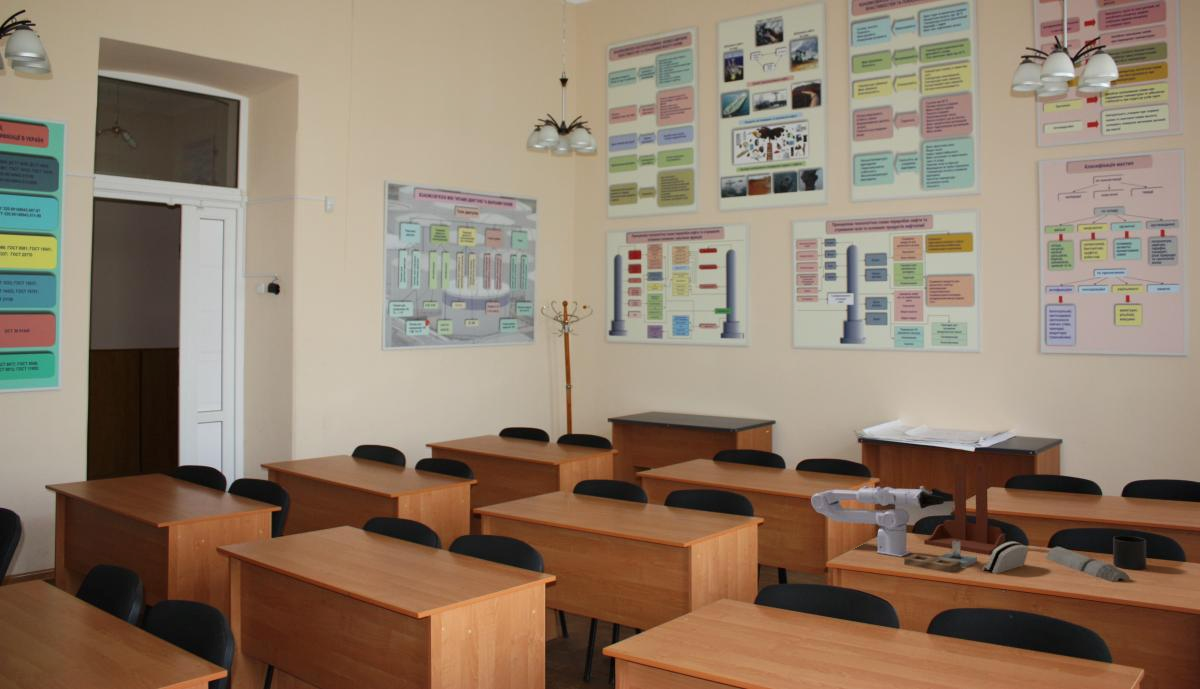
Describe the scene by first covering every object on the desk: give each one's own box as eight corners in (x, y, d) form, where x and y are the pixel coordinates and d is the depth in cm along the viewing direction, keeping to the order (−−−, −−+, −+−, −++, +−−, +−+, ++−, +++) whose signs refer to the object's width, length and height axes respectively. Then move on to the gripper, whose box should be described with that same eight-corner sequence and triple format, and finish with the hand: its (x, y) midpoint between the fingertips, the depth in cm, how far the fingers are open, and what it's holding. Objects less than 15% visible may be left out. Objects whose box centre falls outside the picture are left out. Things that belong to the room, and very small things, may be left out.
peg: (951, 562, 319) (950, 541, 319) (954, 560, 321) (954, 540, 321) (958, 563, 318) (958, 542, 317) (961, 561, 319) (961, 541, 319)
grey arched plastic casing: (1010, 562, 318) (1019, 536, 315) (1022, 569, 314) (1032, 543, 311) (981, 570, 308) (990, 543, 305) (993, 578, 304) (1002, 551, 301)
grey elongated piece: (1068, 545, 323) (1133, 568, 293) (1068, 558, 323) (1133, 581, 293) (1046, 547, 321) (1108, 569, 292) (1046, 560, 321) (1108, 583, 292)
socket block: (935, 562, 319) (935, 558, 319) (948, 556, 326) (948, 552, 326) (965, 567, 312) (964, 562, 312) (977, 561, 320) (977, 556, 319)
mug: (1127, 559, 317) (1127, 533, 317) (1152, 569, 305) (1152, 541, 305) (1102, 561, 316) (1101, 534, 316) (1126, 570, 304) (1125, 542, 304)
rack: (904, 564, 318) (904, 558, 318) (915, 559, 323) (914, 553, 323) (950, 572, 307) (950, 566, 306) (960, 567, 312) (960, 561, 312)
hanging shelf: (924, 544, 345) (923, 463, 345) (941, 538, 354) (940, 459, 353) (988, 555, 328) (987, 470, 327) (1005, 548, 336) (1004, 465, 336)
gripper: (899, 488, 323) (937, 489, 314) (918, 483, 334) (955, 484, 324) (901, 509, 323) (939, 511, 313) (919, 503, 333) (957, 504, 324)
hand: (947, 498), depth 319 cm, fingers open, 7 cm apart
